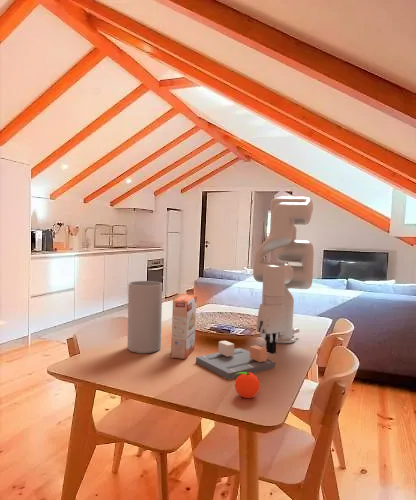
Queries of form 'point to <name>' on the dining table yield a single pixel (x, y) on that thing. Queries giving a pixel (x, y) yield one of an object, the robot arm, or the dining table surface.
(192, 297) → the cracker box
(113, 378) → the dining table surface
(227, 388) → the dining table surface
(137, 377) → the dining table surface
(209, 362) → the fader panel
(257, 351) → the terracotta fader
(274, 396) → the dining table surface
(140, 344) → the cylinder vase
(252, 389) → the clementine
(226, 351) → the ivory fader
